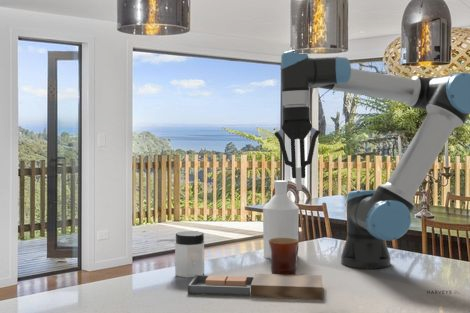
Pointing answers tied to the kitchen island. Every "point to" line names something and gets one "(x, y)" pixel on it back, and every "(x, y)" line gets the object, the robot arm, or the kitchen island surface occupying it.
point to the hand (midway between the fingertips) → (299, 189)
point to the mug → (284, 255)
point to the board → (287, 286)
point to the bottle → (279, 217)
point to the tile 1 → (216, 280)
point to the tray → (217, 287)
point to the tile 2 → (237, 281)
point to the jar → (189, 254)
